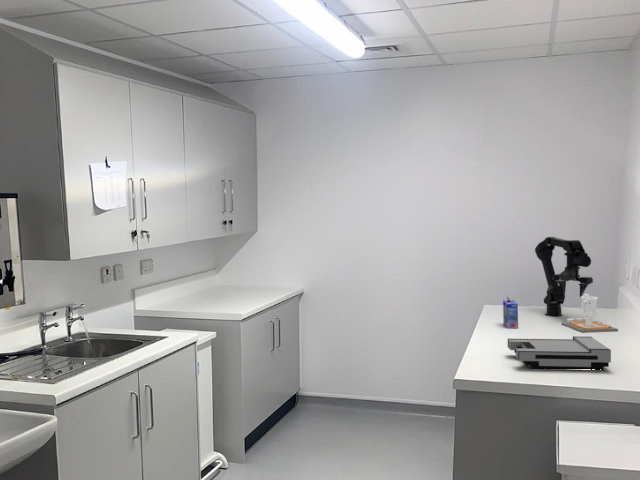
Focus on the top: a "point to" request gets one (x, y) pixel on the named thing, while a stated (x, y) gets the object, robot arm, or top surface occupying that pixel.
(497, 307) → the top surface
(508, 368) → the top surface
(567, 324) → the panel
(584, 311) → the white piece
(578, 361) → the game console
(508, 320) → the ink cartridge box
